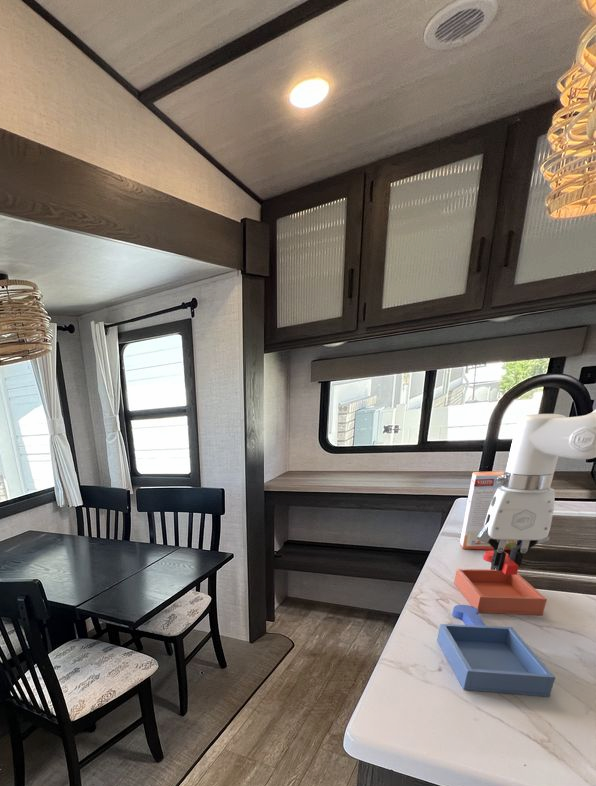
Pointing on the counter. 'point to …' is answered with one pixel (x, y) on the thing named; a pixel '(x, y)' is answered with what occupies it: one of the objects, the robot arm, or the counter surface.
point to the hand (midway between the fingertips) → (504, 568)
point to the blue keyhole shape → (467, 615)
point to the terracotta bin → (499, 592)
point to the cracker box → (480, 510)
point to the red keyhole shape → (508, 564)
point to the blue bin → (494, 660)
